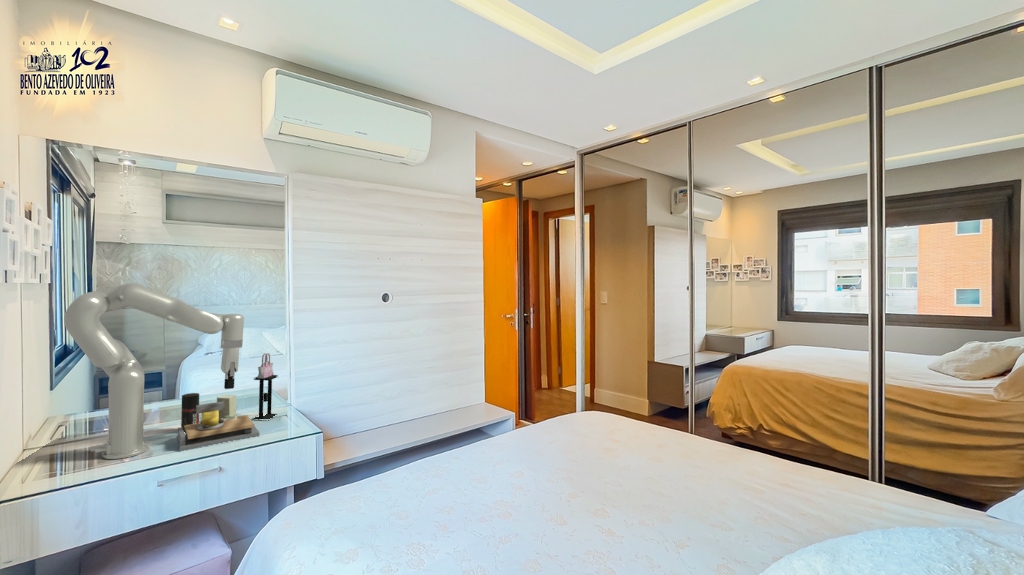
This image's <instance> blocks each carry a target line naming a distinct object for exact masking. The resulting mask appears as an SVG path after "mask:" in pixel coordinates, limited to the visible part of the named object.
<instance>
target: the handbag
mask: <svg viewBox="0 0 1024 575" xmlns="http://www.w3.org/2000/svg"><path fill="white" fill-rule="evenodd" d="M273 365H274V362H271V355H270V353H266V352H264V353H263V354H262V358H261V365H260V366H258V367H257V369H258V374H257V376H255V377H254V378H253V381H259V388H258V390H259V392H258V394H259V395H258V396H259V397H258V398H259V400H258V415H259V417H256V416H254V417H255V418H254V417H252V420H253V419H270V418H272V417H273V416H275V415H277V416H278V413H272V400H273V399H272V398H273V397H272V392H273V391H272V390H273V380H275V379H276V378H278V377H279V374H274V371H273ZM265 381H267V392H264V391H265V390H264V385H265V384H264V383H265ZM264 402H265V403H266V402H267V411H266V412H267V414H266V415H265V416H263V413H264ZM272 419H273V418H272ZM272 419H270V420H272ZM270 420H268V421H270ZM268 421H267V422H268Z"/></svg>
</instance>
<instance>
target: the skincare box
mask: <svg viewBox="0 0 1024 575" xmlns="http://www.w3.org/2000/svg"><path fill="white" fill-rule="evenodd" d="M217 402H224V410H219V420H220V419H221V418H223V416H227V415H233V414H235V416H236V417H237V395H233V394H222V395H220V396H217V397H216V403H217Z"/></svg>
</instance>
